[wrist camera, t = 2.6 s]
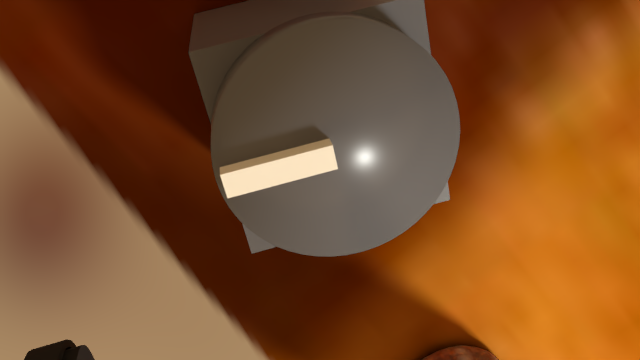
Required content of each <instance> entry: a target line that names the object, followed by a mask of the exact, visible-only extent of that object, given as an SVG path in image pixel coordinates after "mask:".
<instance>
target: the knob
mask: <svg viewBox="0 0 640 360" xmlns="http://www.w3.org/2000/svg"><path fill="white" fill-rule="evenodd" d="M188 53H189V56H190V60H191V63H192V66H193V69H194V72H195V75H196V79H197V82H198V85H199V88H200V91H201V95H202V98H203V101H204V104H205V107H206V110H207V114H208V117H209V120H210V123H211V157H212V166H213V170H214V175H215V179H216V182H217V184H218V187H219V189H220V192H221V194H222V196H223V198H224V200H225V201H226V203H227V205H228V206H229V208H230V209H231V211H232V212H233V213H234V214H235V216H236V217H237V218H238V219H239V220H240V221H241V222H242V225H243V228H244V231H245V234H246V237H247V240H248V244H249V247H250V250H251V253H256V252H260V251H263V250H267V249H271V248H274V247H279V248H282V249H284V250H287V251H290V252H294V253H298V254H302V255H310V256H327V257H333V256H342V255H349V254H354V253H359V252H363V251H366V250H369V249H372V248H375V247H377V246H379V245H381V244H384V243H386V242H388V241H390V240H392V239H393V238H395V237H397V236H398V235H400V234H402V233H403V232H404V231H406V230H407V229H408V228H410V227H411V226H412V225H414V224H415V223H416V222H417V221H418V220H419V219H420V218H421V217H422V216H423V215H424V214H425V213H426V212H427V211H428V210H429V209H430V207H431V206H432V205H433V204H436V203H439V202H443V201H447V200H450V197H449V189H448V179H449V177H450V175H451V173H452V170H453V167H454V164H455V161H456V157H457V152H458V148H459V138H460V118H459V111H458V106H457V101H456V98H455V95H454V92H453V89H452V86H451V84H450V83H449V81H448V79H447V77H446V75H445V73H444V71H443V70H442V69H441V67H440V66H439V64H438V63H437V61H436V60H435V59H434V58H433V57H432V56H431V51H430V43H429V36H428V28H427V21H426V13H425V5H424V0H248V1H244V2H240V3H236V4H232V5H228V6H224V7H220V8H216V9H212V10H208V11H204V12H200V13H196V14H194V18H193V24H192V31H191V38H190V44H189V51H188Z"/></svg>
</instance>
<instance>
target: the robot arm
mask: <svg viewBox="0 0 640 360" xmlns="http://www.w3.org/2000/svg"><path fill="white" fill-rule="evenodd" d="M24 360H94V358H93V356H92V354H91V352H90V350H89V349H88V347H87V346H85V345H81V346H78V347H76V345H75V344H74V343H73V342H72V341H71V340H64V341H60V342H57V343H53V344H50V345H46V346H43V347H40V348H36V349H33V350H31V351H29V352H28V353H27V355H26V357H25V359H24Z"/></svg>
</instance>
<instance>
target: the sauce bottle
mask: <svg viewBox="0 0 640 360" xmlns="http://www.w3.org/2000/svg"><path fill="white" fill-rule="evenodd" d="M421 360H499V359H497V357H496V356H494V355H493V354H492V353H490V352H489V351H488V350H483V349H481V348H478V347H472V346H466V345H458V346H454V347H448V348H445V349H442V350H439V351H436V352H434V353H433V354H431V355H429V356H427V357H424V358H423V359H421Z"/></svg>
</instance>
